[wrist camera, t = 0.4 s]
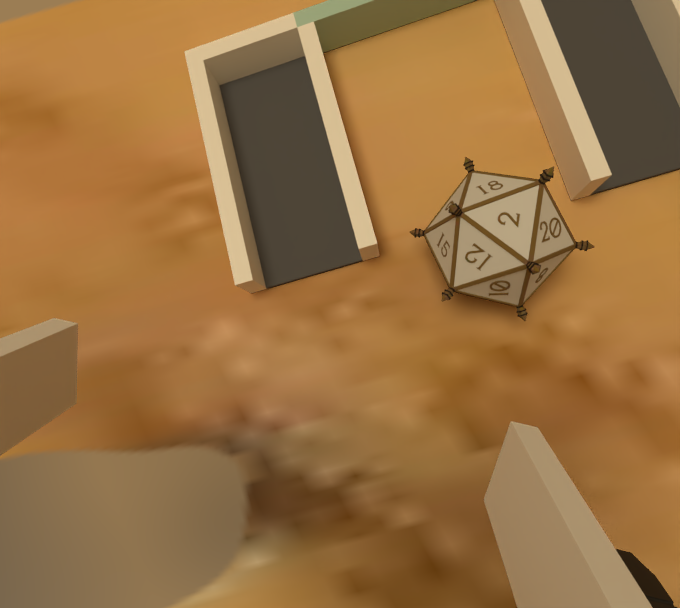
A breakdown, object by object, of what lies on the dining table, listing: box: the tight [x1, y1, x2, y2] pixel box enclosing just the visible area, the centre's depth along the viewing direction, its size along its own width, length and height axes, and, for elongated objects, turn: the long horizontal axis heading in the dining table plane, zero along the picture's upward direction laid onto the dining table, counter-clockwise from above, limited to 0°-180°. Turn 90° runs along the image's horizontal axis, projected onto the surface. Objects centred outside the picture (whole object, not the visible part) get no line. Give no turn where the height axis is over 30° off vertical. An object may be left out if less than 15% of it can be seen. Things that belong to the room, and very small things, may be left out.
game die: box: [410, 157, 594, 321], centre depth 24 cm, size 9×8×10 cm
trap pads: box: [219, 0, 680, 289], centre depth 30 cm, size 16×29×1 cm, turn 105°
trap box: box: [185, 0, 680, 293], centre depth 28 cm, size 18×32×3 cm, turn 105°
